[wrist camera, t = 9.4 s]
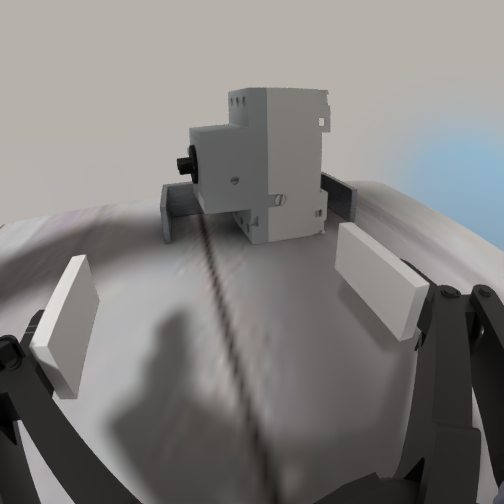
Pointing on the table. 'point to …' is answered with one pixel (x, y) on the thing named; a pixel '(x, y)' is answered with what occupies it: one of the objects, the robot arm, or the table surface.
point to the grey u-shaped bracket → (185, 203)
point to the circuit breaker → (264, 163)
